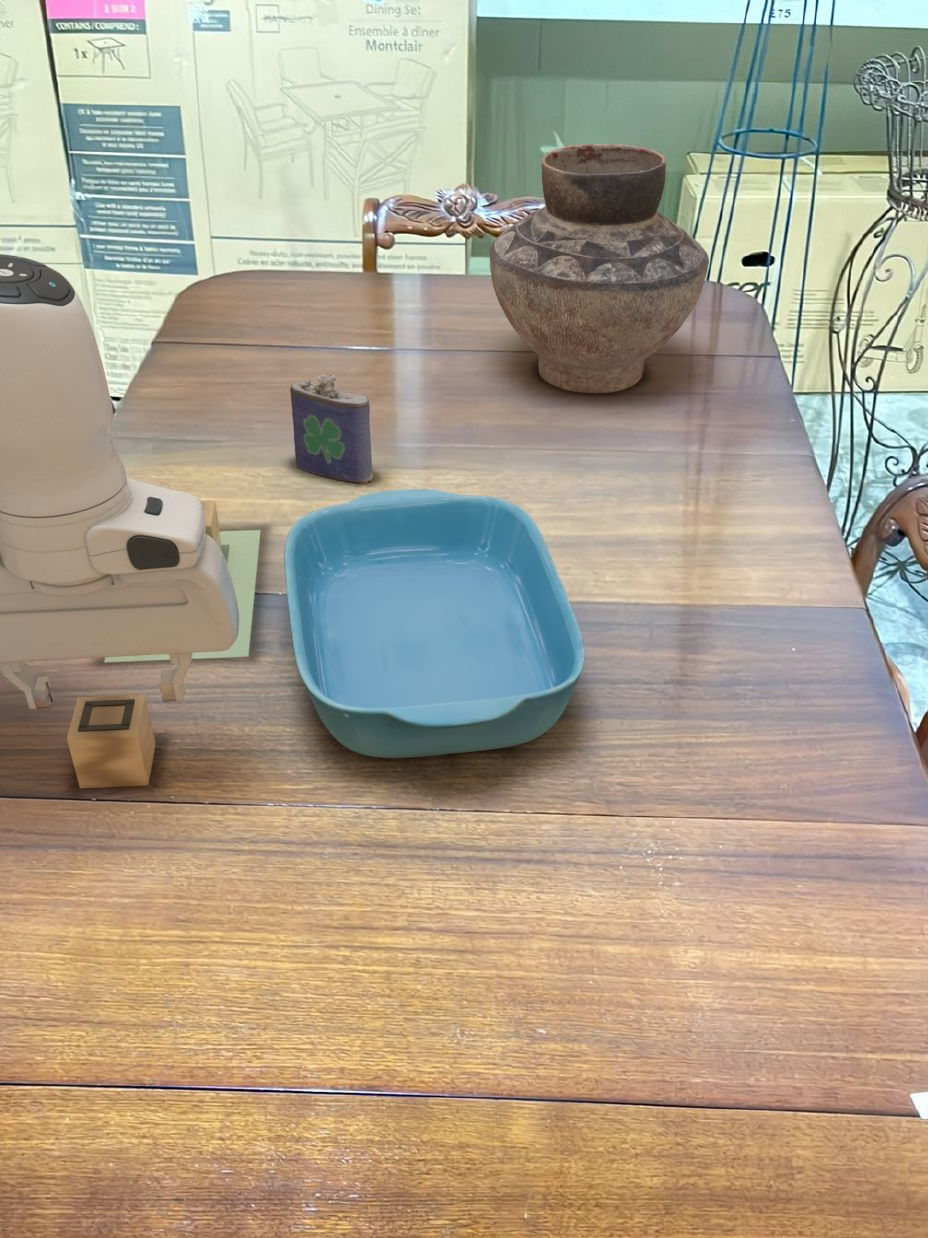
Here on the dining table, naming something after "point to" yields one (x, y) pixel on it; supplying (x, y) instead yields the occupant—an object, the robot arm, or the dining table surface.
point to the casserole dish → (429, 623)
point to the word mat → (243, 570)
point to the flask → (331, 431)
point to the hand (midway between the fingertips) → (108, 700)
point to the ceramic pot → (597, 268)
